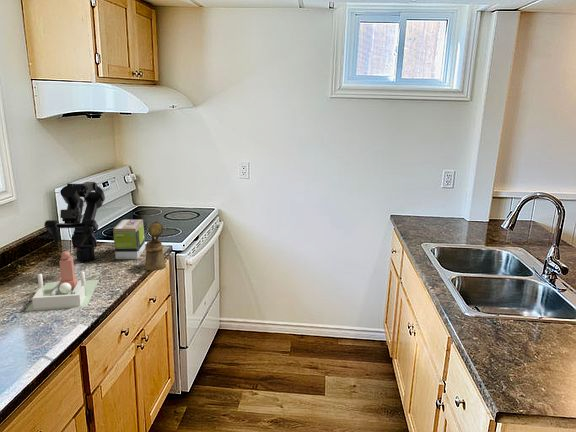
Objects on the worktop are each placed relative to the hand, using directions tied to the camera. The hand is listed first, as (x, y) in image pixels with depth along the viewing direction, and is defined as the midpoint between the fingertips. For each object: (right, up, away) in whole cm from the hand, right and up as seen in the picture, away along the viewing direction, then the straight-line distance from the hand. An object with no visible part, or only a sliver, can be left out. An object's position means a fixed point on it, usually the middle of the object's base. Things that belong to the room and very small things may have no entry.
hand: (68, 245), depth 171 cm
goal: (+6, -19, -17) cm, 26 cm away
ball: (+5, -15, -12) cm, 19 cm away
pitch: (+5, -17, -12) cm, 21 cm away
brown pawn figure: (+28, -10, +19) cm, 36 cm away
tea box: (+13, -6, +32) cm, 35 cm away
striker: (+3, -16, -6) cm, 17 cm away
